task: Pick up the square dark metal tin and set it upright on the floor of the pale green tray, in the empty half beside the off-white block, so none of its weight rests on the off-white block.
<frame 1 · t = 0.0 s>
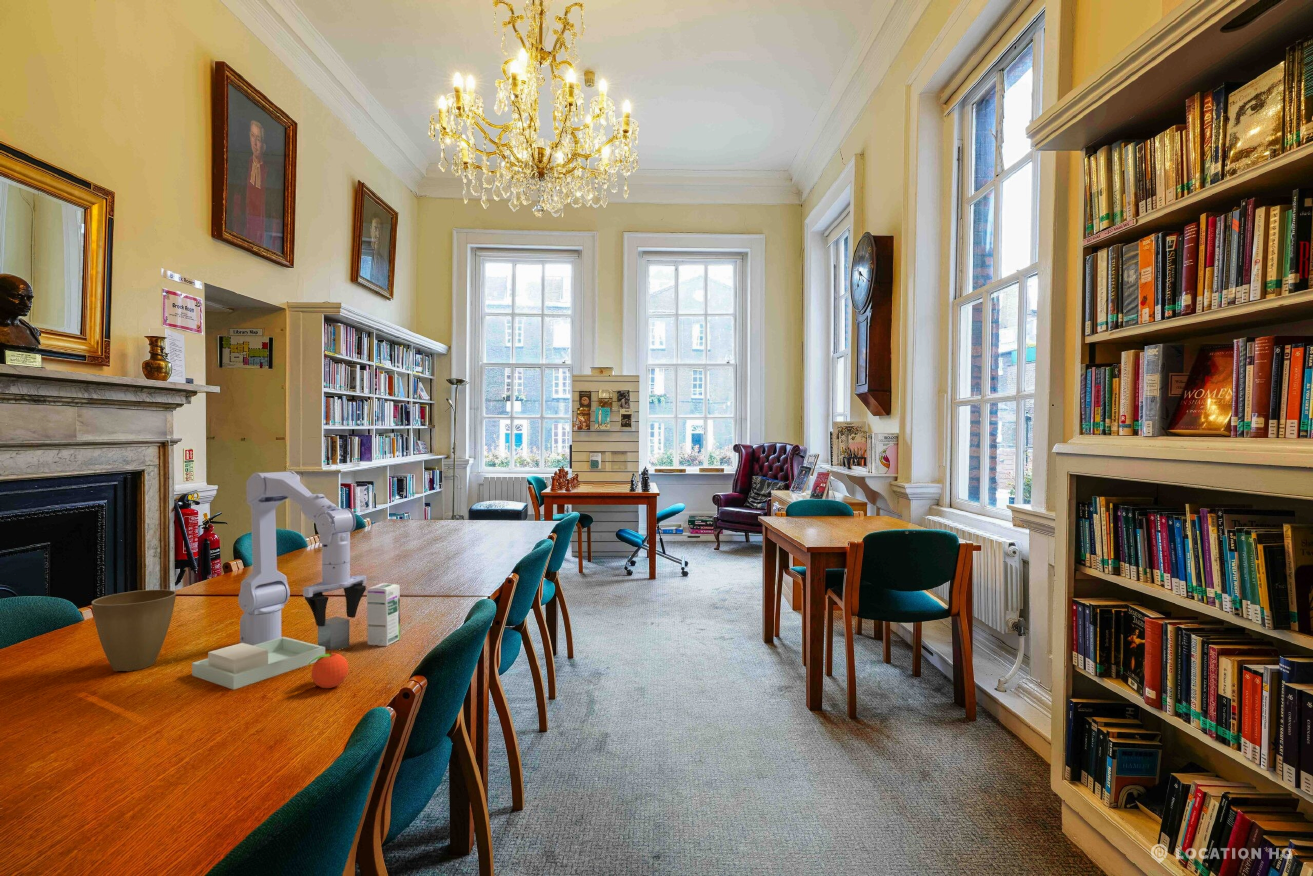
hand: (336, 621, 144), 10 cm above the table, tool pointing down, fingers open, 7 cm apart
syrup box: (383, 643, 160), on the table
pale green tray: (261, 670, 141), on the table
off-white block: (238, 673, 136), point 1 cm above the table, touching pale green tray
clementine: (327, 688, 131), on the table
tin: (333, 648, 155), on the table
plant pot: (135, 666, 143), on the table
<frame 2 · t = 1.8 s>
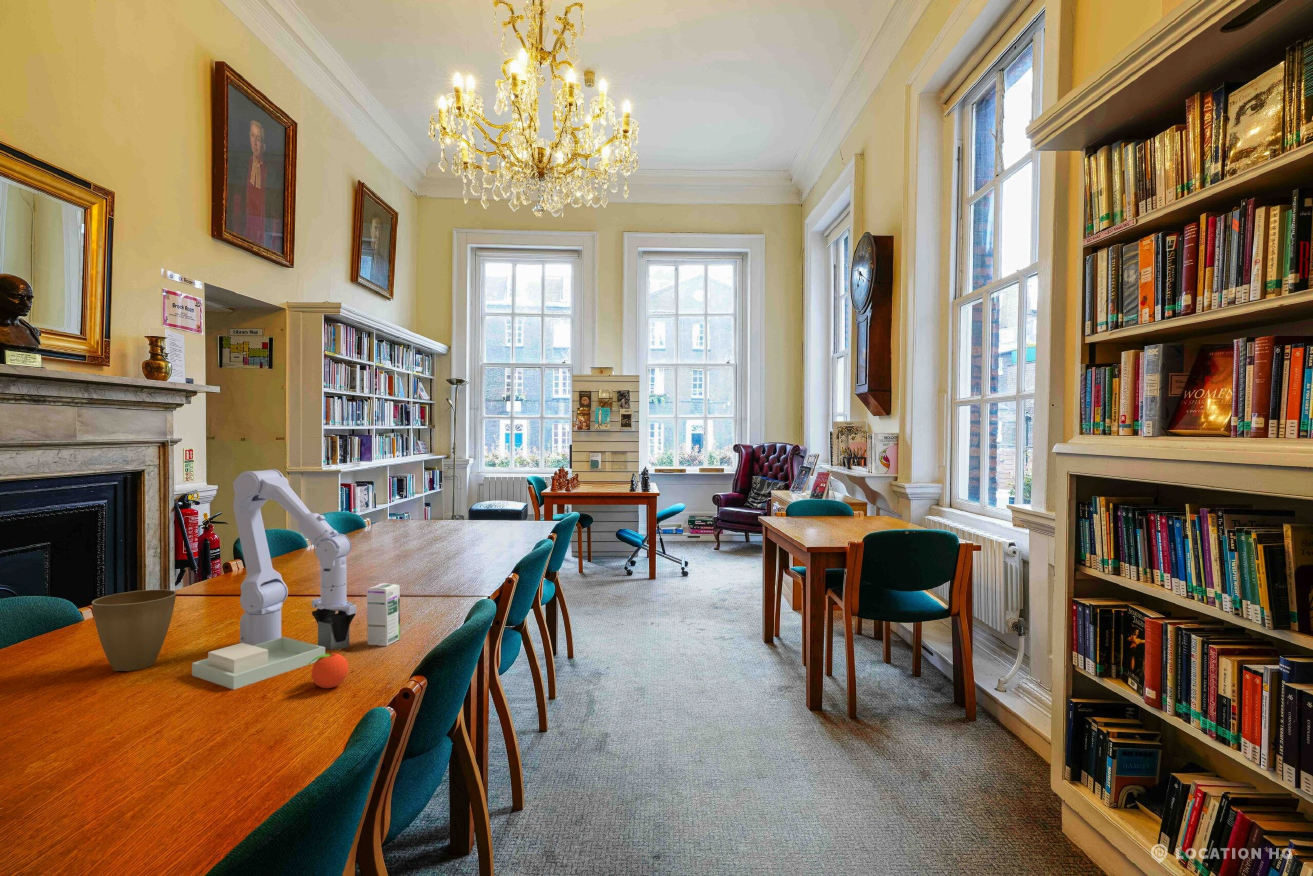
hand: (333, 639, 155), 2 cm above the table, tool pointing down, fingers closed on tin, 5 cm apart
tin: (333, 648, 155), on the table, touching gripper
everything else where it was.
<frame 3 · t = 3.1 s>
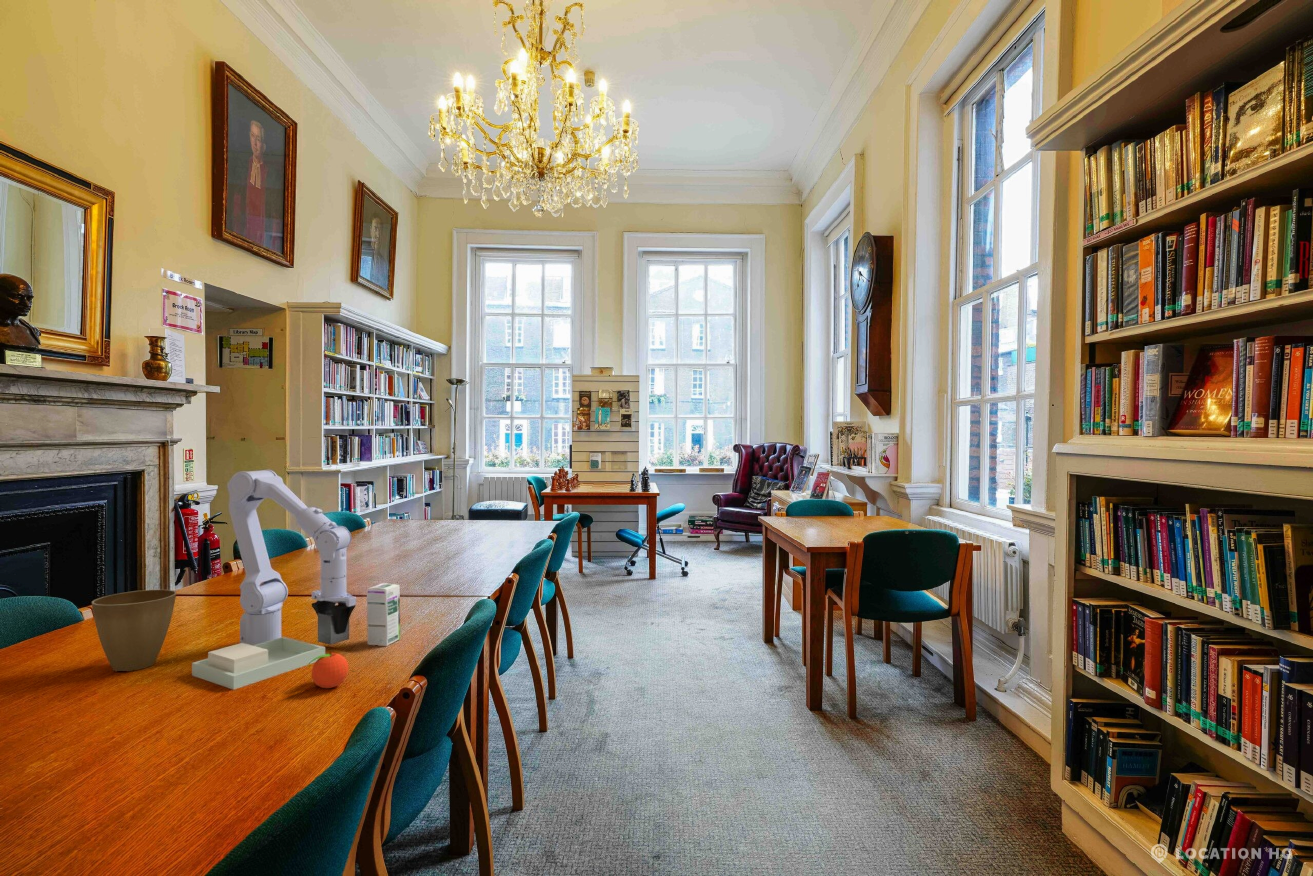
hand: (333, 631, 155), 4 cm above the table, tool pointing down, fingers closed on tin, 5 cm apart
tin: (333, 640, 155), point 2 cm above the table, touching gripper
everything else where it was.
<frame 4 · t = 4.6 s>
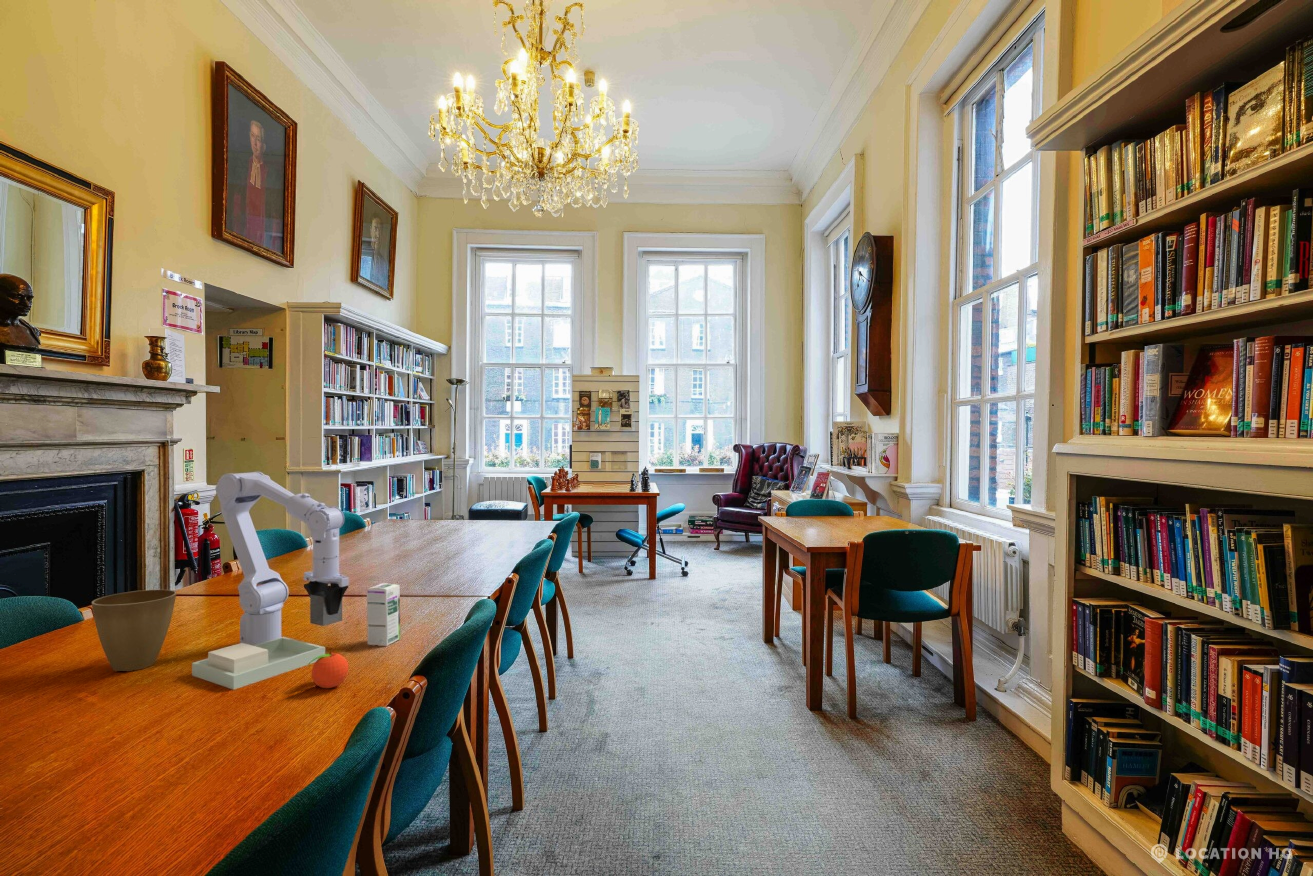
hand: (326, 612, 154), 9 cm above the table, tool pointing down, fingers closed on tin, 5 cm apart
tin: (326, 622, 154), point 7 cm above the table, touching gripper
everything else where it was.
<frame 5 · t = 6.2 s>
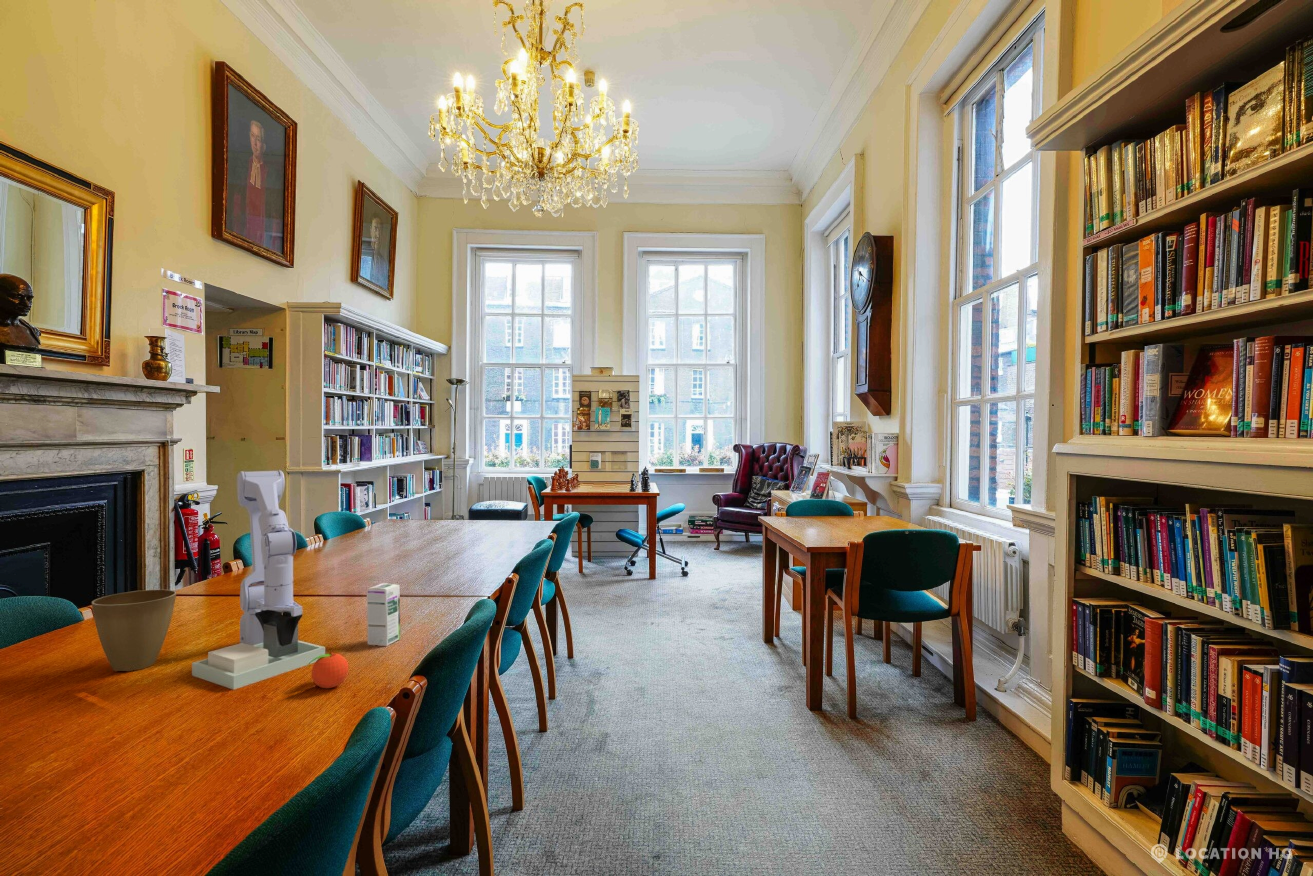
hand: (278, 642, 144), 5 cm above the table, tool pointing down, fingers closed on tin, 5 cm apart
tin: (280, 653, 144), point 3 cm above the table, touching gripper
everything else where it was.
when the fingers open (4 cm above the table, at t = 7.4 s): tin stays where it is, resting on pale green tray.
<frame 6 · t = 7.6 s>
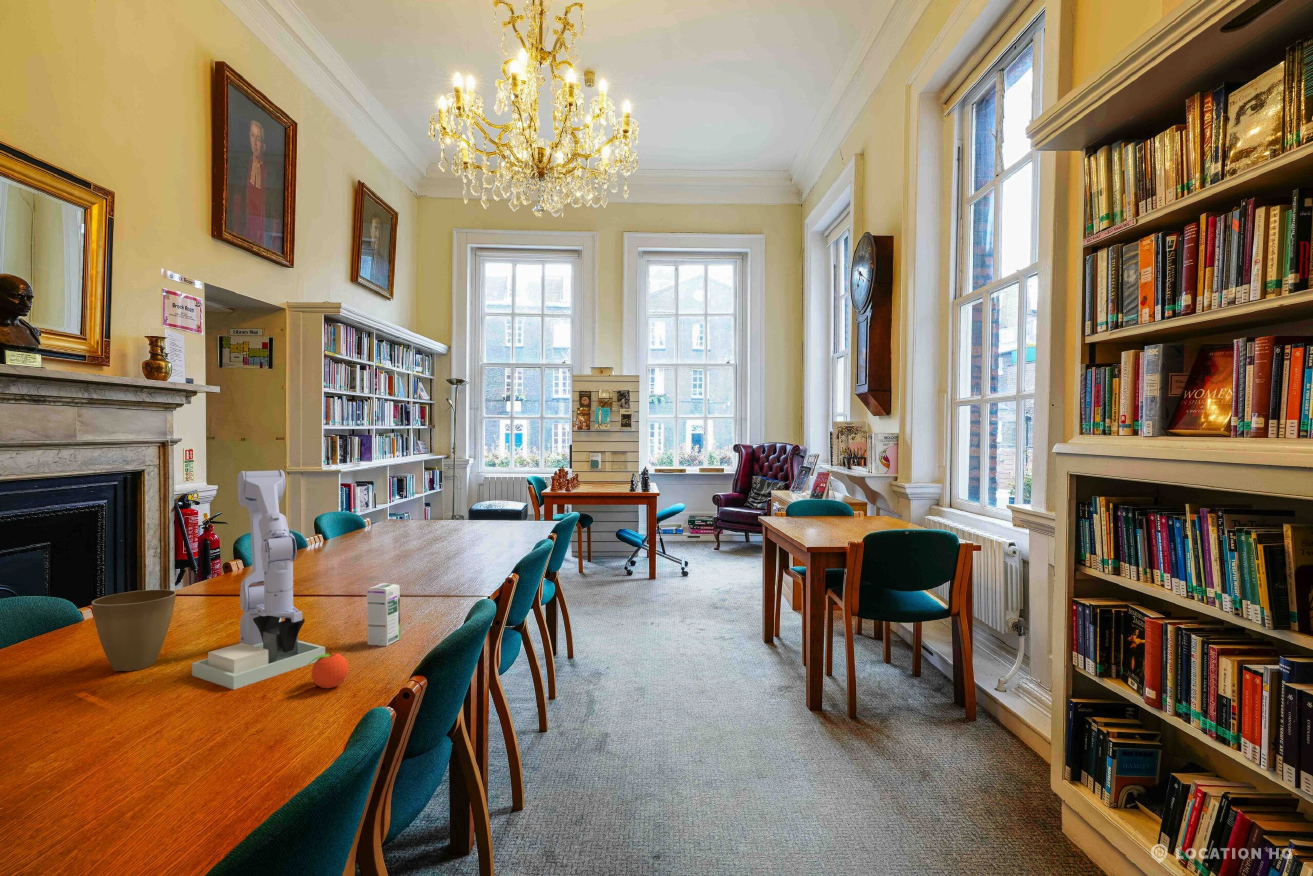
hand: (278, 648, 144), 4 cm above the table, tool pointing down, fingers open, 7 cm apart
tin: (280, 660, 144), point 1 cm above the table, touching pale green tray
everything else where it was.
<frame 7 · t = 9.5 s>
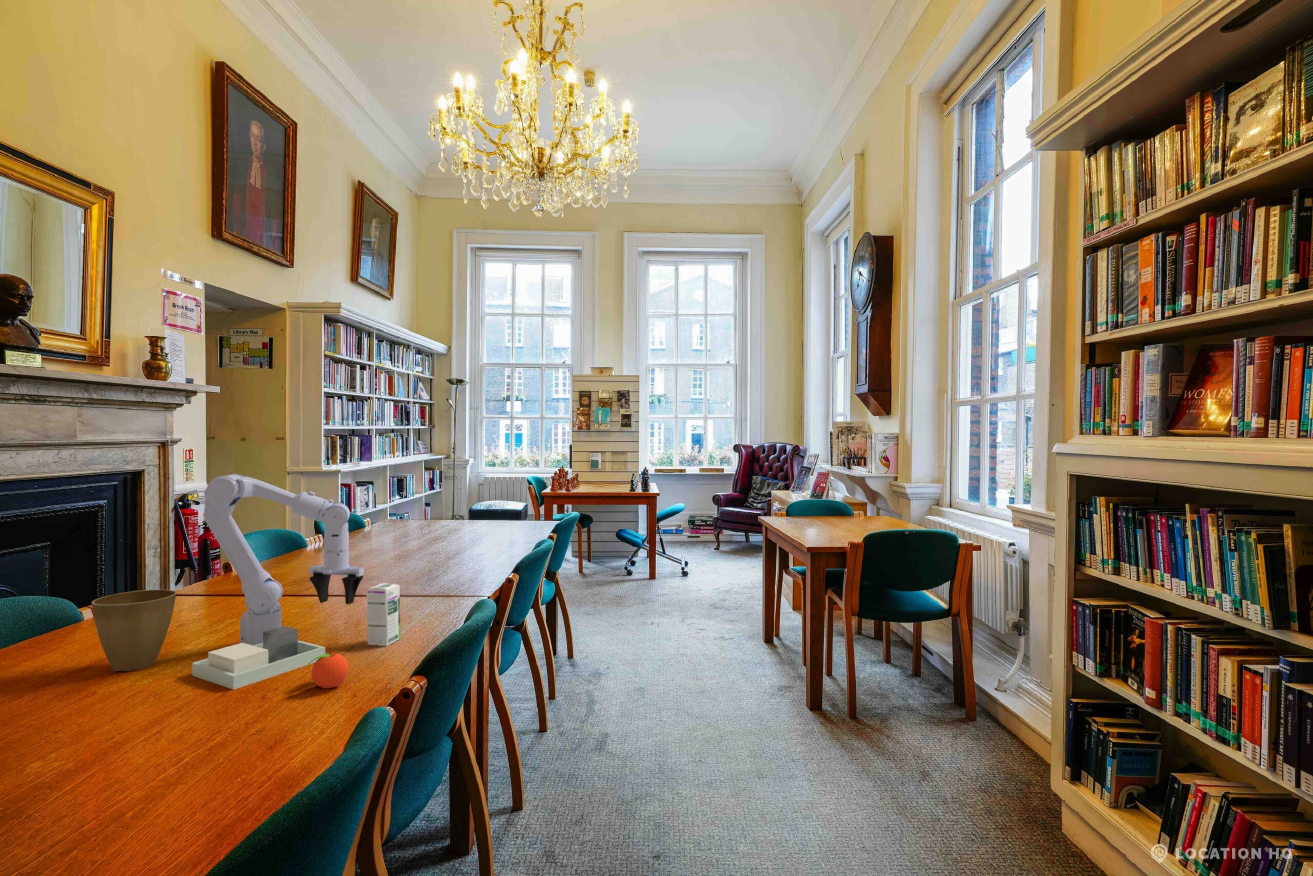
hand: (336, 602, 162), 9 cm above the table, tool pointing down, fingers open, 7 cm apart
nothing on the table moved.
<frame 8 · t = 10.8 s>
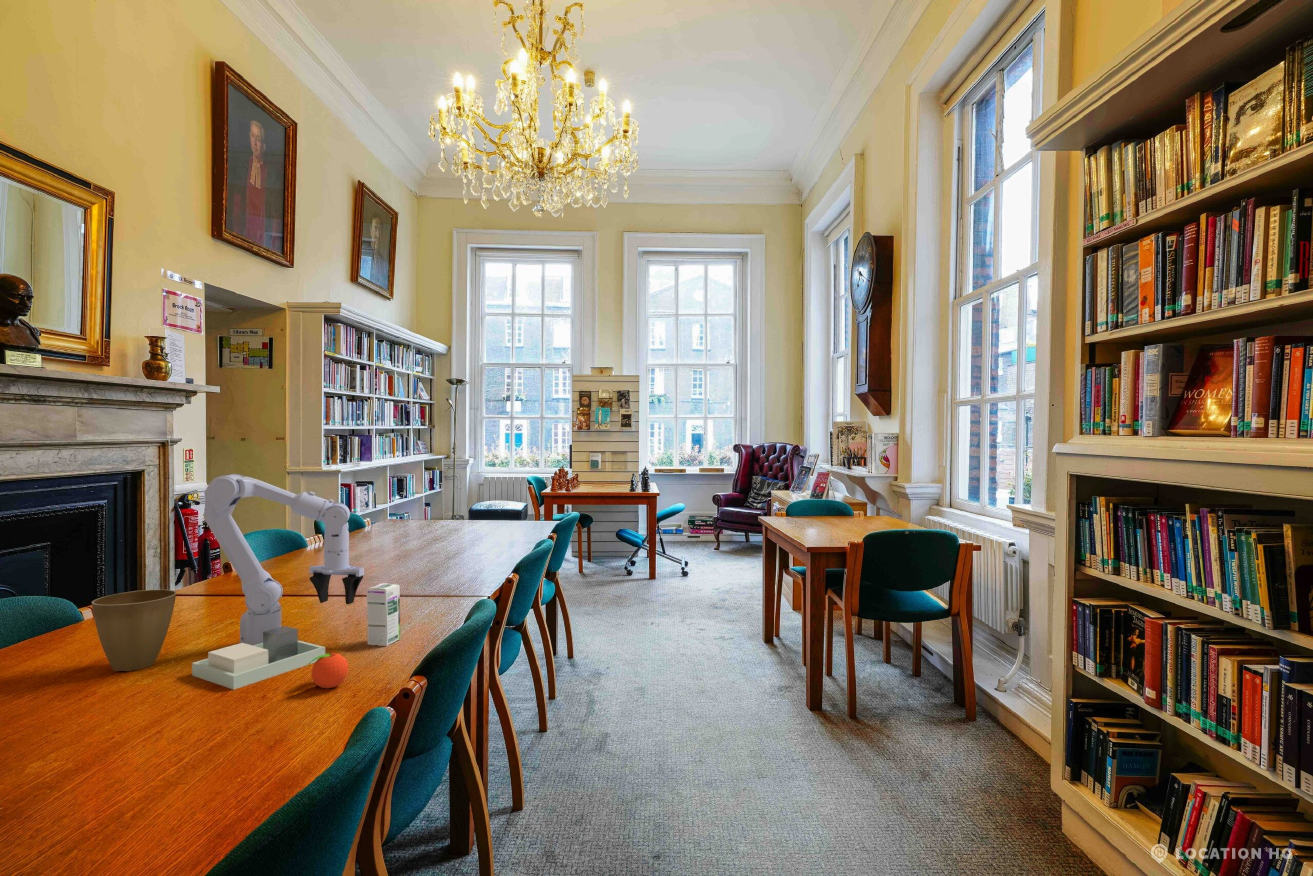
hand: (336, 602, 162), 9 cm above the table, tool pointing down, fingers open, 7 cm apart
nothing on the table moved.
at the end: tin inside the target area on the pale green tray (0.1 cm from its centre), point 0.8 cm above the pale green tray's base; tin tilted 0°; off-white block moved 0.1 cm from its start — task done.
